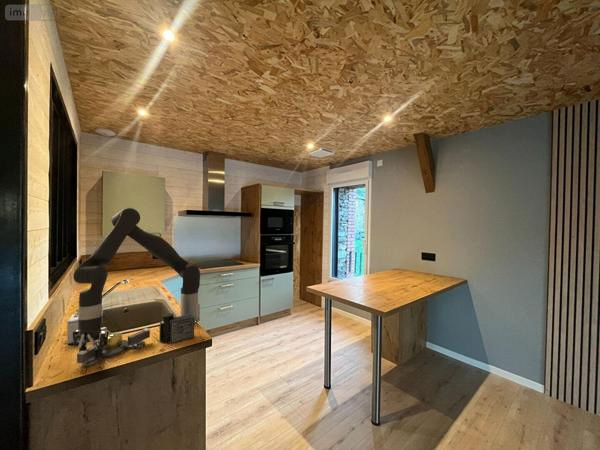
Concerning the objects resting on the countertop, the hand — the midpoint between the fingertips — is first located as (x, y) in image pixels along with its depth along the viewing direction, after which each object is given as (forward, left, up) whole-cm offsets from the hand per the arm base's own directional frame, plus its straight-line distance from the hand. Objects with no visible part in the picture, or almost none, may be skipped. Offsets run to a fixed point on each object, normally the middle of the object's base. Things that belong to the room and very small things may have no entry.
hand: (90, 357), depth 98 cm
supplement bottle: (-27, +9, -3) cm, 29 cm away
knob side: (-11, -13, -1) cm, 17 cm away
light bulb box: (-8, -31, -3) cm, 33 cm away
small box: (-31, +14, -3) cm, 34 cm away
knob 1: (0, 0, -1) cm, 1 cm away
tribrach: (-9, -5, -3) cm, 10 cm away
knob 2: (-17, +3, -1) cm, 17 cm away
